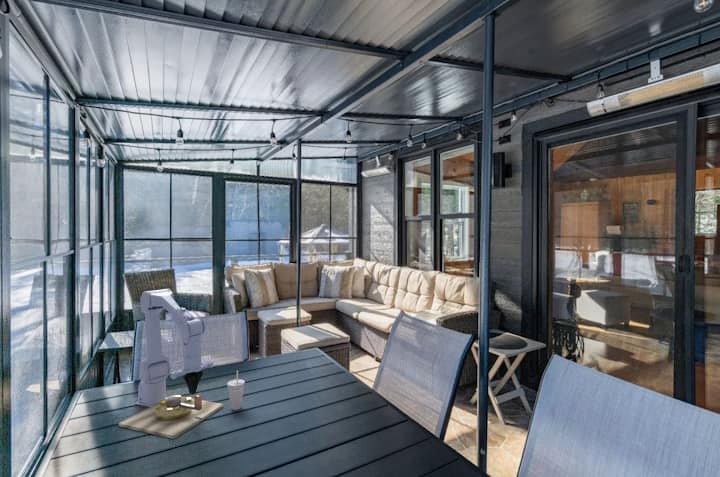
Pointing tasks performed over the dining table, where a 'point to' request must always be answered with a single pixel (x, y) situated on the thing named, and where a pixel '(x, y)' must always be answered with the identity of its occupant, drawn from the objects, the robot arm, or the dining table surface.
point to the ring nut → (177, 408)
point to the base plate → (170, 428)
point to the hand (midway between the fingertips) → (192, 393)
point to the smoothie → (236, 392)
